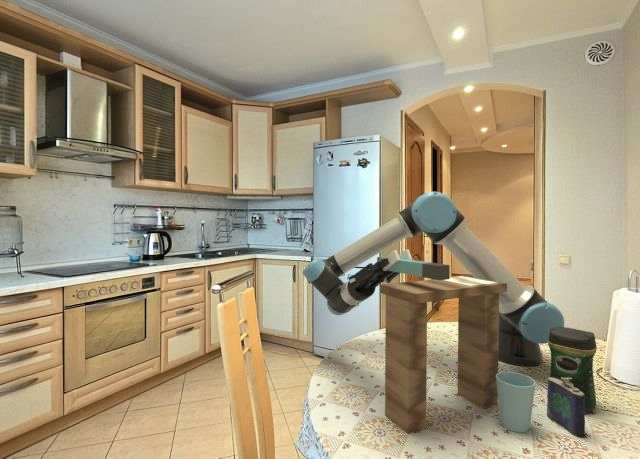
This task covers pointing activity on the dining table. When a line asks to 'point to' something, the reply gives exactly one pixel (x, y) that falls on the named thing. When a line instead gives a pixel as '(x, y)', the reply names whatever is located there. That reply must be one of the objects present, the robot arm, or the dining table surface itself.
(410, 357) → the shelf
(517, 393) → the cup
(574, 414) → the flask
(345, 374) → the dining table surface
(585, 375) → the coffee jar
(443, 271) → the teal bar
